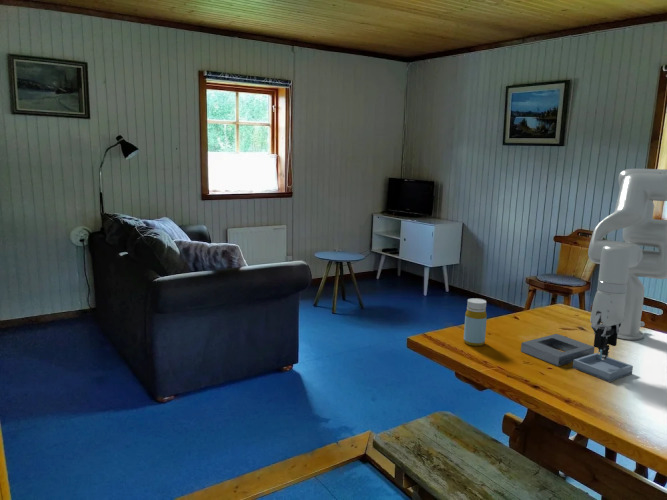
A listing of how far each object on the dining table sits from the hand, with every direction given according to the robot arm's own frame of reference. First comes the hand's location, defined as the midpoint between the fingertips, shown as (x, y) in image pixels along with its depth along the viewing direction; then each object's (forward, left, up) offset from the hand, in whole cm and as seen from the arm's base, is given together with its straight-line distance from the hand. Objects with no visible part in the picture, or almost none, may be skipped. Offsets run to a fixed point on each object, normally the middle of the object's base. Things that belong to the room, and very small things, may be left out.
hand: (604, 345), depth 155 cm
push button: (0, 0, -4) cm, 4 cm away
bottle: (+17, -36, -8) cm, 40 cm away
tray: (0, 0, -8) cm, 8 cm away
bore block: (0, -16, -8) cm, 17 cm away
